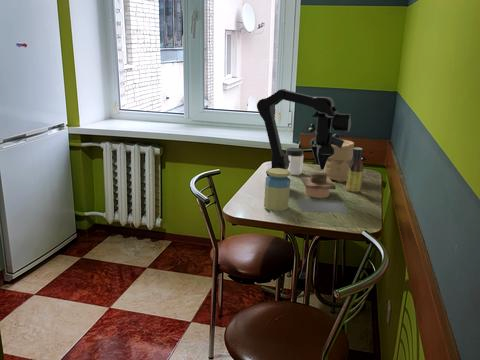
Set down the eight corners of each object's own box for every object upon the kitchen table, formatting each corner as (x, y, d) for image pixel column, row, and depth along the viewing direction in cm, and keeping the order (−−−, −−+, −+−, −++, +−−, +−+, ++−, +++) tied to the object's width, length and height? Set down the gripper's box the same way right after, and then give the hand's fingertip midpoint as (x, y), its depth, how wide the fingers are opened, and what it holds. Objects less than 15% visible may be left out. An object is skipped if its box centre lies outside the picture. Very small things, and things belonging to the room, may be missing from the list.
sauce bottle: (349, 189, 197) (354, 145, 191) (362, 192, 193) (368, 148, 188) (342, 192, 192) (348, 147, 187) (356, 196, 188) (361, 150, 183)
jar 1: (264, 204, 173) (266, 167, 169) (288, 206, 173) (291, 168, 168) (263, 212, 165) (265, 173, 160) (287, 214, 164) (291, 175, 160)
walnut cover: (306, 188, 179) (307, 177, 178) (301, 179, 190) (302, 169, 189) (335, 189, 179) (336, 178, 178) (328, 180, 191) (330, 170, 190)
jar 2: (288, 169, 225) (290, 146, 222) (303, 172, 222) (305, 148, 218) (281, 173, 218) (283, 149, 214) (297, 176, 214) (299, 152, 211)
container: (350, 183, 207) (355, 145, 202) (323, 180, 209) (327, 143, 204) (348, 176, 219) (352, 140, 214) (322, 173, 221) (326, 138, 215)
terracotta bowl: (306, 199, 181) (308, 187, 180) (302, 191, 191) (303, 180, 189) (331, 200, 182) (332, 188, 180) (325, 192, 191) (327, 181, 190)
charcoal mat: (301, 213, 165) (301, 211, 165) (295, 201, 178) (296, 198, 178) (349, 215, 166) (349, 212, 165) (340, 202, 179) (340, 200, 179)
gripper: (349, 133, 170) (345, 173, 174) (337, 125, 188) (333, 161, 192) (320, 132, 169) (316, 172, 174) (311, 124, 187) (308, 160, 191)
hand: (319, 166), depth 183 cm, fingers open, 9 cm apart
